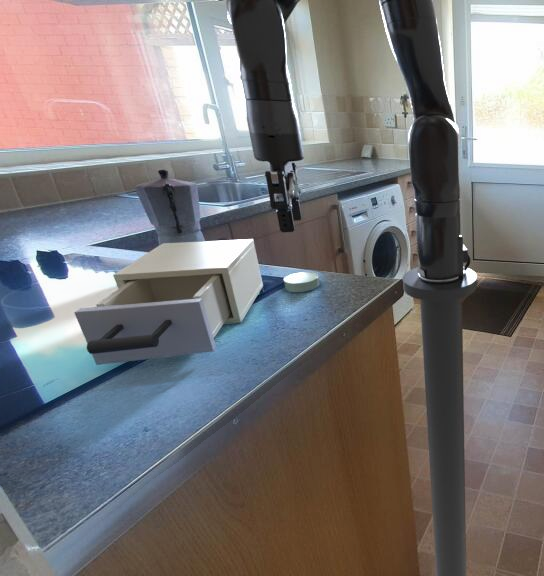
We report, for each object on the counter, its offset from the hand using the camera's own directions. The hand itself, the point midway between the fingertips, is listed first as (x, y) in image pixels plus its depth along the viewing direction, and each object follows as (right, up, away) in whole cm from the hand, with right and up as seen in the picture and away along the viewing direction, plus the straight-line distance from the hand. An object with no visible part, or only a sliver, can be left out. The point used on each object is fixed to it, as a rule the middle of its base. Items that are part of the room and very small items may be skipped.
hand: (291, 225), depth 74 cm
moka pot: (-27, -8, +11) cm, 30 cm away
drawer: (-7, -19, -17) cm, 27 cm away
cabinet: (-12, -15, -5) cm, 19 cm away
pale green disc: (0, -11, +5) cm, 12 cm away
